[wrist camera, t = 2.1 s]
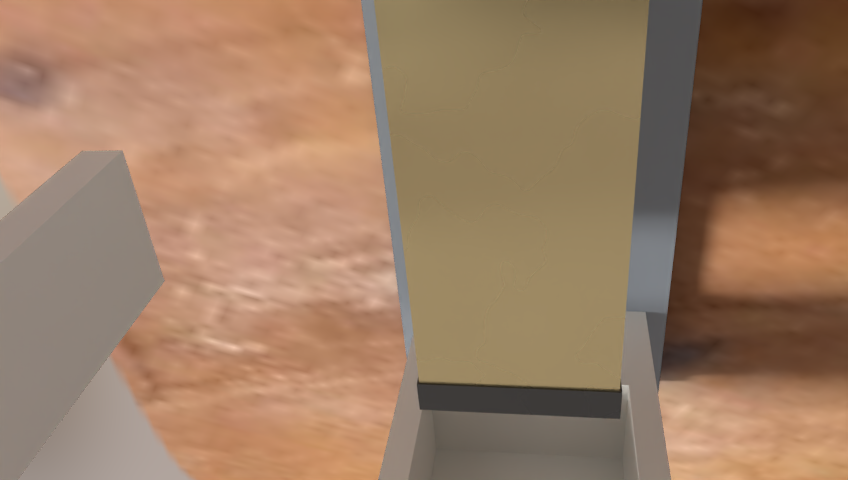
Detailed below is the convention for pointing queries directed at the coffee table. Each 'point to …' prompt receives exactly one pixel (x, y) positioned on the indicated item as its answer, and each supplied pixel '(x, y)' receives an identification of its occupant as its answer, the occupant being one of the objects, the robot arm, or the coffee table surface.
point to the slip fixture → (644, 321)
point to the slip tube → (516, 195)
